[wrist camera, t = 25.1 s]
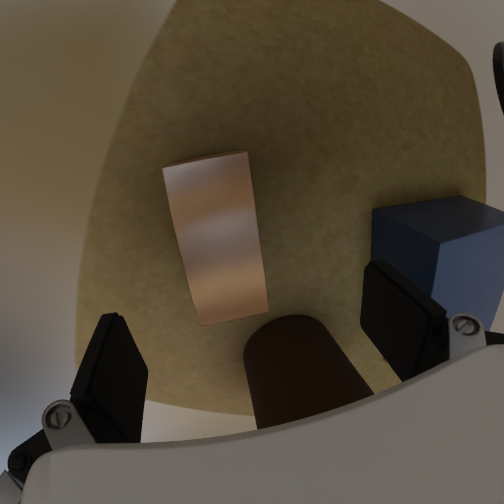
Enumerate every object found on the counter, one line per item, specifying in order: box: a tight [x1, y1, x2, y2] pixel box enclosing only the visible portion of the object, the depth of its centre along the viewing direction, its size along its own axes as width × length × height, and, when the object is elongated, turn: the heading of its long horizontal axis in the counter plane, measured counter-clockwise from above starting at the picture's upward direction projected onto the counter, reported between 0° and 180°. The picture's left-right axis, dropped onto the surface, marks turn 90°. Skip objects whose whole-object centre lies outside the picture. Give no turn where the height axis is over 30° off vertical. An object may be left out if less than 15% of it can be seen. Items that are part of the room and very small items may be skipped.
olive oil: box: [244, 316, 374, 430], centre depth 17 cm, size 11×11×25 cm
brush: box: [162, 151, 269, 326], centre depth 20 cm, size 11×5×5 cm, turn 8°
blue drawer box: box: [371, 196, 504, 331], centre depth 23 cm, size 15×14×9 cm
